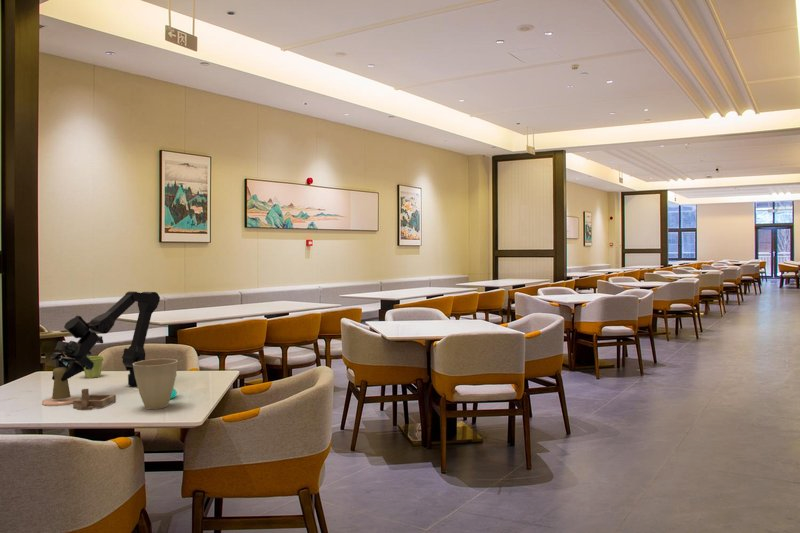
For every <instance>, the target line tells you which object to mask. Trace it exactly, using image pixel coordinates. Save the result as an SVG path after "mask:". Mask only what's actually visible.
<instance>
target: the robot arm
mask: <svg viewBox="0 0 800 533" xmlns="http://www.w3.org/2000/svg"><path fill="white" fill-rule="evenodd" d="M160 301H161V297H160V294H158V292H156V291H142V292H138V291H132V290H131V291H130V290H129V291H127V292H125V294H124V295H123V296H122V297H121V298H120V299H119V300H118V301H117V302H116V303H115V304H113V306H111V307H110V308H109V309H107V311H105V312H103V313H102V314H99V315H96V316H95V317H94V318H92V319H91V320H90V321H89V322H86V321H85V320H84V319H83V317H82V316H81V315H76V316H75V317H73V318H71V319H70V320H68V321H67V322H65V324H64V328H63V329H64V330H66V331H67V332H68V333H69V334H70V335H71V336H73V337H74V339H78V341H74V340H70V341H69V342H67V341H61V340H60V341H57V343H56V347H55V349H54V350H56V351H61V352H52V354H51V355H50V357H49V358H50V359H51V360H52V361H53V362H55V365H56V366H55V368H59V367H66V368H68V369H67V370H66V372H65V373H64V375H63V377H62V378H61V381H65V380H67V379H68V380H69V379H71V378H72V377H74V376H76V375H78V374H79V373H82V372H84V371H85V370H84V368H85V366H86V370H92V368H93V367H94V362H92V361H91V360H90V359H89V358H88V357H89V356H91V355H92V352H91V351H92V349H93V348H94V347H95V346H96V345H97V344H104V338H103V336H101V335H98V334H108V333H109V332H110V331H111V330H112V328H113V327H114V325H115V322H116V321H117V320H118V319H119V317H121V316H122V315H123V314H124V313H125V312H126V311H127V310H128V309H129V308H130V307H132V306H133V305H134V304H135V303H136V302H137V307H138V312H139V313H138V317H137V321H136V324H135V329H134V332H133V336H132V340H131V343H130V345H129V347H128V348H124V349H123V353H122V356H121V359H122V363H123V365H124V367H125V370H126V371H129V373H128V374H127V385H128V386H129V388H135V387H137V383H136V379H135V375H134V369H133V363H135V362H139V361H144V360H146V351H145V343H146V338H147V334H148V330H149V328H150V327H149V326H150V323H151V319H152V314H153V312H155V310H157V308H158V306H159V303H160ZM54 378H55V377H54V376H53V375H52V378H51V380H53V381H54Z"/></svg>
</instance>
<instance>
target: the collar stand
mask: <svg viewBox="0 0 800 533" xmlns="http://www.w3.org/2000/svg"><path fill="white" fill-rule="evenodd" d="M116 402H117V395H116V394H89V388H82V389H81V397H79V399H77V400H75V401H73V403H72V406H73V407H72V408H73V409H76V410H77V411H79V410H80V411H82V410H83V411H85V410H86V411H92V410H94V409H103V408H106V407H107V406H110V405H112V404H115V403H116Z"/></svg>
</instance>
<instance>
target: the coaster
mask: <svg viewBox="0 0 800 533" xmlns="http://www.w3.org/2000/svg"><path fill="white" fill-rule="evenodd" d="M70 396H71V397H69V398H65V399H52V397H50V398H46V399H43V400H42V401H41V405H43V406H48V407H53V406H54V407H58V405H60V406H65V405H66V404H67V405H73V401H75V400H77V399H79V398H80V397H78V396H72V395H70ZM67 405H66V406H67Z"/></svg>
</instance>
